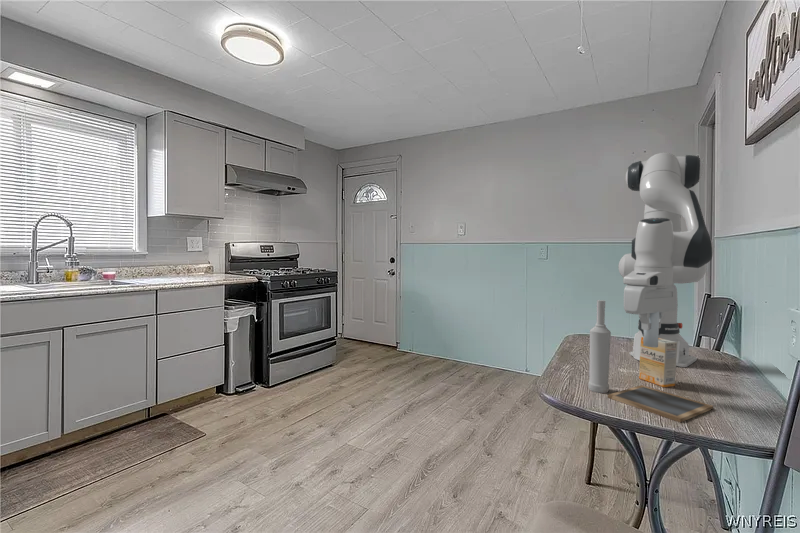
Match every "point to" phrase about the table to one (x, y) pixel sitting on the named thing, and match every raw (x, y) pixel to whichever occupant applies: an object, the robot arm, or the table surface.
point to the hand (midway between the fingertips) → (651, 328)
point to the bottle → (599, 352)
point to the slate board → (661, 403)
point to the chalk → (652, 331)
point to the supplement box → (658, 363)
